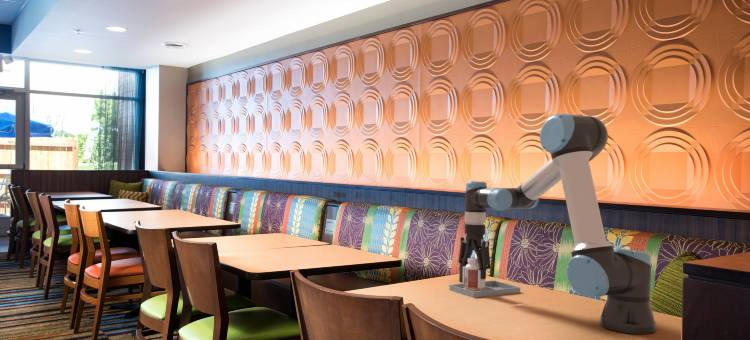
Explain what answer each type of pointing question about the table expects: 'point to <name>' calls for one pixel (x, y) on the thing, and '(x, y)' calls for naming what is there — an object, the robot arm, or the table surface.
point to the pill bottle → (472, 274)
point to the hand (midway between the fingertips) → (473, 285)
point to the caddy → (486, 289)
